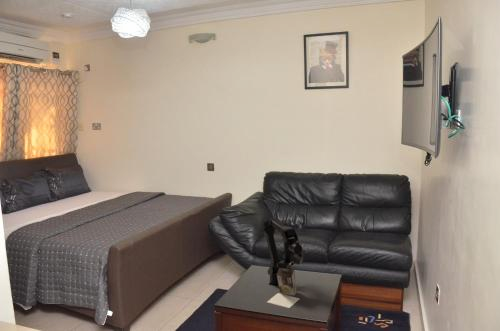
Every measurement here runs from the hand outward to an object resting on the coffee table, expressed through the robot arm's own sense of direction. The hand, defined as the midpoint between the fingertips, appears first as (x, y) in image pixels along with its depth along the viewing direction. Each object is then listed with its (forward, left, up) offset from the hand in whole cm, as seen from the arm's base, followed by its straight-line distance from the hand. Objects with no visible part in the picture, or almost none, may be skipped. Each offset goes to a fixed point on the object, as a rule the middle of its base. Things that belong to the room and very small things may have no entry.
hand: (288, 275), depth 232 cm
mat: (+2, -11, -11) cm, 15 cm away
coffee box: (0, 0, -10) cm, 10 cm away
